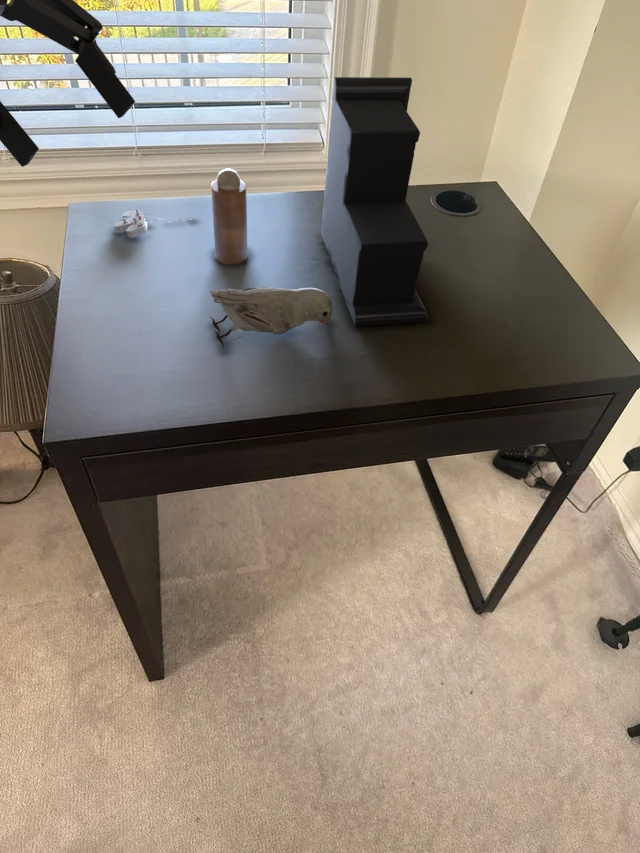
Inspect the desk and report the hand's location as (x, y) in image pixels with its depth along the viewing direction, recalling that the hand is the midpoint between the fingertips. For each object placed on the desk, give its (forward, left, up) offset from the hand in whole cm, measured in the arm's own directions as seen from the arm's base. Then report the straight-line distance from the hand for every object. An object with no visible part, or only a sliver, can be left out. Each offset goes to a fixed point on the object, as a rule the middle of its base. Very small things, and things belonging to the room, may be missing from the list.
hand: (82, 132), depth 62 cm
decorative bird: (+15, +11, -26) cm, 32 cm away
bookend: (+21, +30, -26) cm, 45 cm away
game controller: (-13, +24, -26) cm, 38 cm away
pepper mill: (+1, +24, -26) cm, 35 cm away
